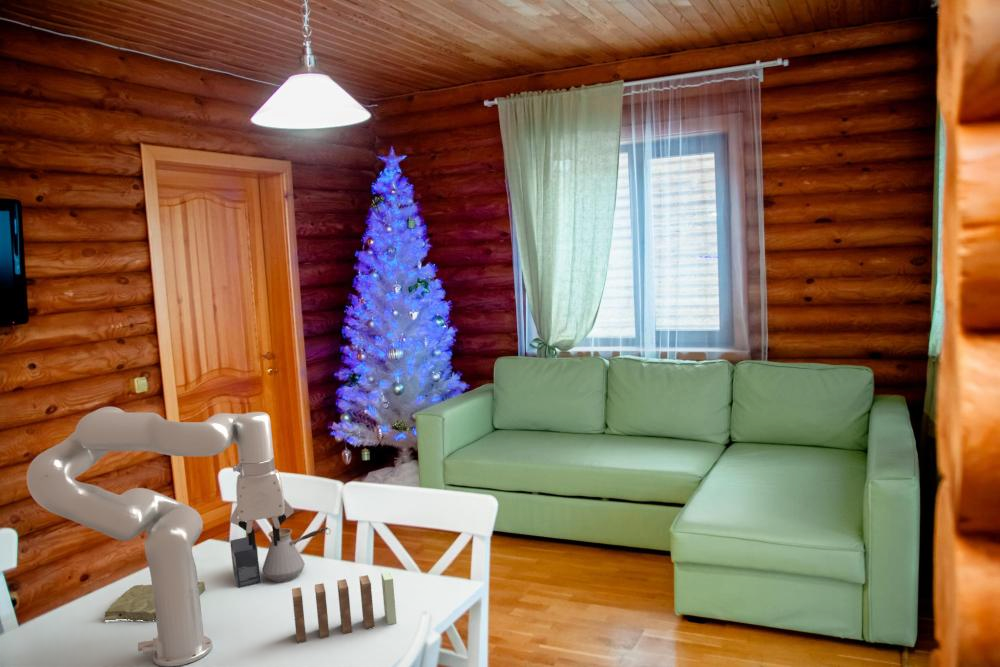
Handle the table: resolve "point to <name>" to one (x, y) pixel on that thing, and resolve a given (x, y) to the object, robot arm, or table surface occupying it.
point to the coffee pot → (285, 556)
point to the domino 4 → (366, 601)
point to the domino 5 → (388, 597)
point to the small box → (245, 562)
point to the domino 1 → (299, 615)
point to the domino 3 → (344, 606)
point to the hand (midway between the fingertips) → (264, 545)
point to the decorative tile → (137, 604)
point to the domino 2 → (322, 610)
